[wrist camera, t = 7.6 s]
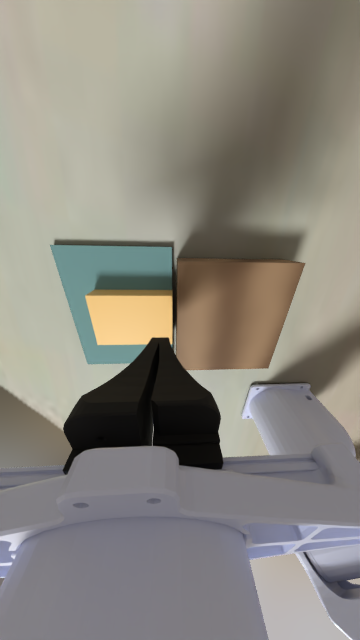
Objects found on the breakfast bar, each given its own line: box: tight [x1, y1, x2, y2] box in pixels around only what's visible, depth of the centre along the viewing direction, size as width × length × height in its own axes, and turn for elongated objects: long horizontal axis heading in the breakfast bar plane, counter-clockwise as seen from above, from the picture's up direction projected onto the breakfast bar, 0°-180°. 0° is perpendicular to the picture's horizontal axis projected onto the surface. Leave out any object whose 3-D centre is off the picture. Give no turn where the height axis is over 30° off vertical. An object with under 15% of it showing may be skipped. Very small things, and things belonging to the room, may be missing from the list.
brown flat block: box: [176, 258, 305, 370], centre depth 17 cm, size 11×12×3 cm
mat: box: [50, 245, 172, 364], centre depth 18 cm, size 11×14×1 cm
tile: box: [85, 290, 172, 345], centre depth 17 cm, size 8×6×2 cm
